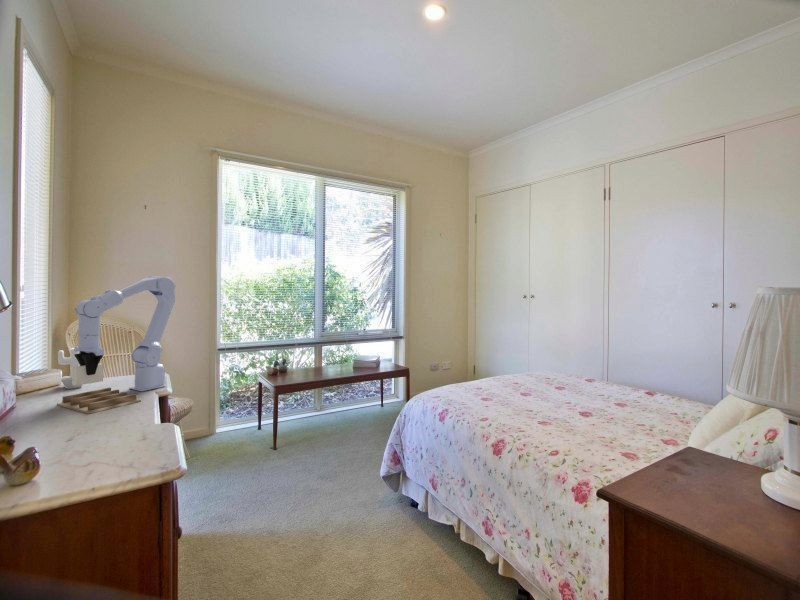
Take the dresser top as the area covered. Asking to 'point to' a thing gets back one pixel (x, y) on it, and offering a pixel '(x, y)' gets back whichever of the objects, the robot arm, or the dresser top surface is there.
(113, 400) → the dish rack
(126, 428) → the dresser top surface
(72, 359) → the figurine
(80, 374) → the cream slab
